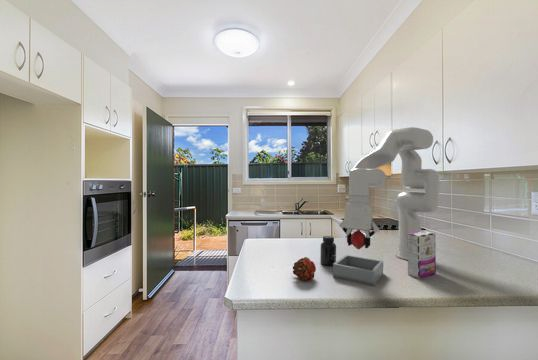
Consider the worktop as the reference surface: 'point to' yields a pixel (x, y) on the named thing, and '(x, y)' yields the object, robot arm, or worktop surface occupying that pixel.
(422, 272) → the candy bar box
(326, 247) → the supplement bottle
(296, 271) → the dragon fruit
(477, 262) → the worktop surface
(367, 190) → the robot arm
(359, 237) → the pomegranate
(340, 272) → the bin
